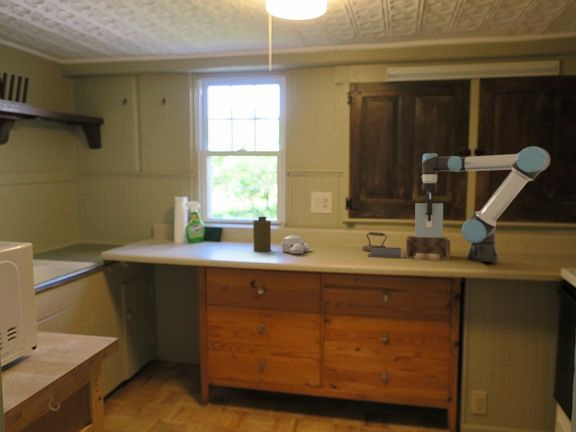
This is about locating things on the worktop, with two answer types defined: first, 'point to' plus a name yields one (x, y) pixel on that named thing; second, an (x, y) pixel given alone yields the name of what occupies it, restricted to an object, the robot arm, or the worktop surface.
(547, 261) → the worktop surface
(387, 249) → the grey block
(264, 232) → the canister
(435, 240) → the rack
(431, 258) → the offcut middle
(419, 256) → the offcut top
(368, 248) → the clothes iron
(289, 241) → the rock
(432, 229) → the sheet
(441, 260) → the offcut bottom
